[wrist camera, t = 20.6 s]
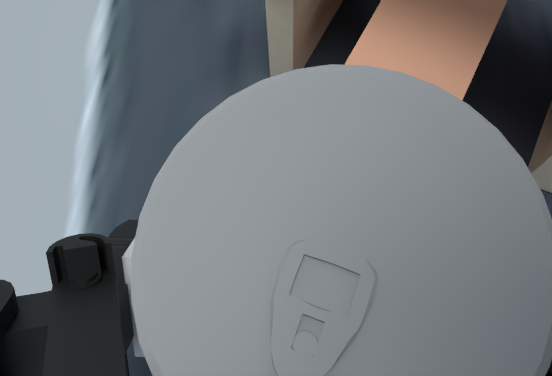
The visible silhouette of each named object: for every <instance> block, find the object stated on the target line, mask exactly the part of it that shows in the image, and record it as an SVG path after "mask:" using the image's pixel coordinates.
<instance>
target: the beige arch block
mask: <svg viewBox="0 0 552 376" xmlns="http://www.w3.org/2000/svg"><path fill="white" fill-rule="evenodd" d="M342 2H343V0H265V5H266V20H267V35H268V50H269V65H270V77H273V76H276V75H279V74H283V73H286V72H289V71H292V70H295V69H301V68H304V66H305V65H306V63H307V61H308V60H309V58H310V56H311V55H312V53H313V51H314V49H315V48H316V46H317V44H318V43H319V41H320V39H321V38H322V36H323V34H324V32H325V31H326V29H327V27H328V26H329V24H330V22H331V21H332V19H333V17H334V16H335V14H336V12H337V10H338V9H339V7H340V5H341V4H342ZM528 169H529V171H530V172H531V174H532V176H533V178H534V179H535V181H536V183H537V185H538V186H539V188H540V189H542V190H545V191H547V192H550V193H552V100H551V103H550V105H549V108H548V111H547V114H546V117H545V120H544V123H543V125H542V128H541V131H540V134H539V137H538V140H537V143H536V145H535V148H534V151H533V154H532V157H531V160H530V163H529V165H528Z"/></svg>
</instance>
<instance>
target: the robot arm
mask: <svg viewBox="0 0 552 376" xmlns="http://www.w3.org/2000/svg"><path fill="white" fill-rule="evenodd" d="M138 221H139V220H128V221H126V222H124V223H123V224H121V225H119V226H118V227H116V228H115V229H114V230H113V232H112V233H111V234H110V236H109V237H108V238H107V237H105V236H103V235H100V234H92V233H89V234H78V235H73V236H69V237H66V238H64V239H61V240H59V241H57V242H55V243H54V244H52V245H51V246H50V247H49V249H48V250H47V252H46V255H47V260H48V264H49V270H50V275H51V280H52V285H53V287H52V290H51V291H48V292H42V293H37V294H30V295H24V296H17V297H16V295H15V290H14V287H13V286H12V284H11V283H10V282H7V281H5V280H0V376H129V369H128V361H127V354H126V351H127V349H128V347H129V344H130V342H131V340H132V338H133V346H134V354H135V357H145V356H144V354H143V351H142V349H141V346H140V344H139V339H138V334H137V328H136V323H135V318H134V313H133V307H132V302H131V256H132V251H133V246H134V241H135V236H136V231H137V226H138ZM545 376H552V360H551V363H550V367H549V369H548V371H547V373H546V375H545Z"/></svg>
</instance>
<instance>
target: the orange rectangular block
mask: <svg viewBox="0 0 552 376" xmlns="http://www.w3.org/2000/svg"><path fill="white" fill-rule="evenodd" d="M506 3H507V0H381V2H380V4H379V5H378V7H377V9H376V10H375V12H374V14H373V16H372V17H371V19H370V21H369V23H368V24H367V26H366V28H365V30H364V31H363V33H362V35H361V37H360V38H359V40H358V42H357V43H356V45H355V47H354V49H353V50H352V52H351V54H350V56H349V57H348V59H347V61H346V63H345V64H344V65H367V66H372V67H377V68H382V69H387V70H393V71H398V72H402V73H405V74H408V75H410V76H413V77H415V78H418V79H421V80H423V81H426V82H429V83H431V84H434V85H436V86H438V87H440V88H442V89H443V90H445V91H447V92H448V93H450V94H452V95H453V96H455V97H457V98H459V99H460V100H463V98H464V96H465V93H466V91H467V89H468V87H469V85H470V82H471V80H472V78H473V76H474V73H475V71H476V69H477V67H478V65H479V62H480V60H481V58H482V56H483V54H484V51H485V49H486V47H487V45H488V42H489V40H490V38H491V36H492V34H493V31H494V29H495V27H496V25H497V23H498V20H499V18H500V16H501V14H502V11H503V9H504V7H505V5H506Z"/></svg>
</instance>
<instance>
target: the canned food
mask: <svg viewBox="0 0 552 376" xmlns="http://www.w3.org/2000/svg"><path fill="white" fill-rule="evenodd" d="M131 302H132V307H133V313H134V318H135V323H136V328H137V334H138V339H139V344H140V346H141V349H142V351H143V354H144V356H145V359H146V361H147V363H148V366H149V368H150V371H151V373H152V376H545V375H546V373H547V371H548V369H549V367H550V363H551V360H552V218H551V215H550V212H549V210H548V207H547V204H546V201H545V198H544V195H543V193H542V192H541V190H540V188H539V186H538V185H537V183H536V181H535V179H534V178H533V176H532V174H531V172H530V171H529V169H528V167H527V165H526V164H525V162H524V160H523V159H522V157H521V156H520V155H519V154H518V153H517V151H516V150H515V149H514V148H513V147H512V145H511V144H510V143H509V142H508V141H507V140H506V138H505V137H504V136H503V135H502V134H501V132H500V131H499V130H498V129H497V128H496V127H495V126H494V125H492V124H491V123H490V122H489V121H488V120H486V119H485V118H484V117H483V116H482V115H481V114H479V113H478V112H477V111H476V110H475V109H473V108H472V107H471V106H470V105H469V104H467V103H465V102H464V101H462V100H460V99H459V98H457V97H455V96H453V95H452V94H450V93H448V92H447V91H445V90H443V89H442V88H440V87H438V86H436V85H434V84H431V83H429V82H426V81H423V80H421V79H418V78H415V77H413V76H410V75H408V74H405V73H402V72H398V71H393V70H387V69H382V68H377V67H372V66H367V65H336V64H330V65H323V66H316V67H309V68H301V69H295V70H292V71H289V72H286V73H283V74H279V75H276V76H273V77H270V78H267V79H264V80H261V81H259V82H257V83H255V84H253V85H251V86H249V87H248V88H246V89H244V90H242V91H240V92H238V93H236V94H234V95H232V96H230V97H229V98H227V99H226V100H225V101H223V102H222V103H221V104H220V105H218V106H217V107H216V108H214V109H213V110H212V111H210V112H209V113H208V114H206V115H205V116H204V117H202V118H201V119H200V120H199V121H198V122H197V123H196V124H195V126H194V127H193V128H192V129H191V130H190V131H189V132H188V133H187V134H186V135H185V136H184V138H183V139H182V140H181V141H180V142H179V143H178V144H177V145H176V146H175V148H174V149H173V151H172V152H171V154H170V156H169V157H168V159H167V160H166V162H165V163H164V165H163V167H162V168H161V170H160V171H159V173H158V174H157V176H156V178H155V179H154V182H153V184H152V187H151V189H150V192H149V194H148V196H147V199H146V201H145V204H144V206H143V209H142V211H141V214H140V216H139V221H138V226H137V231H136V236H135V241H134V246H133V251H132V256H131Z"/></svg>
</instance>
